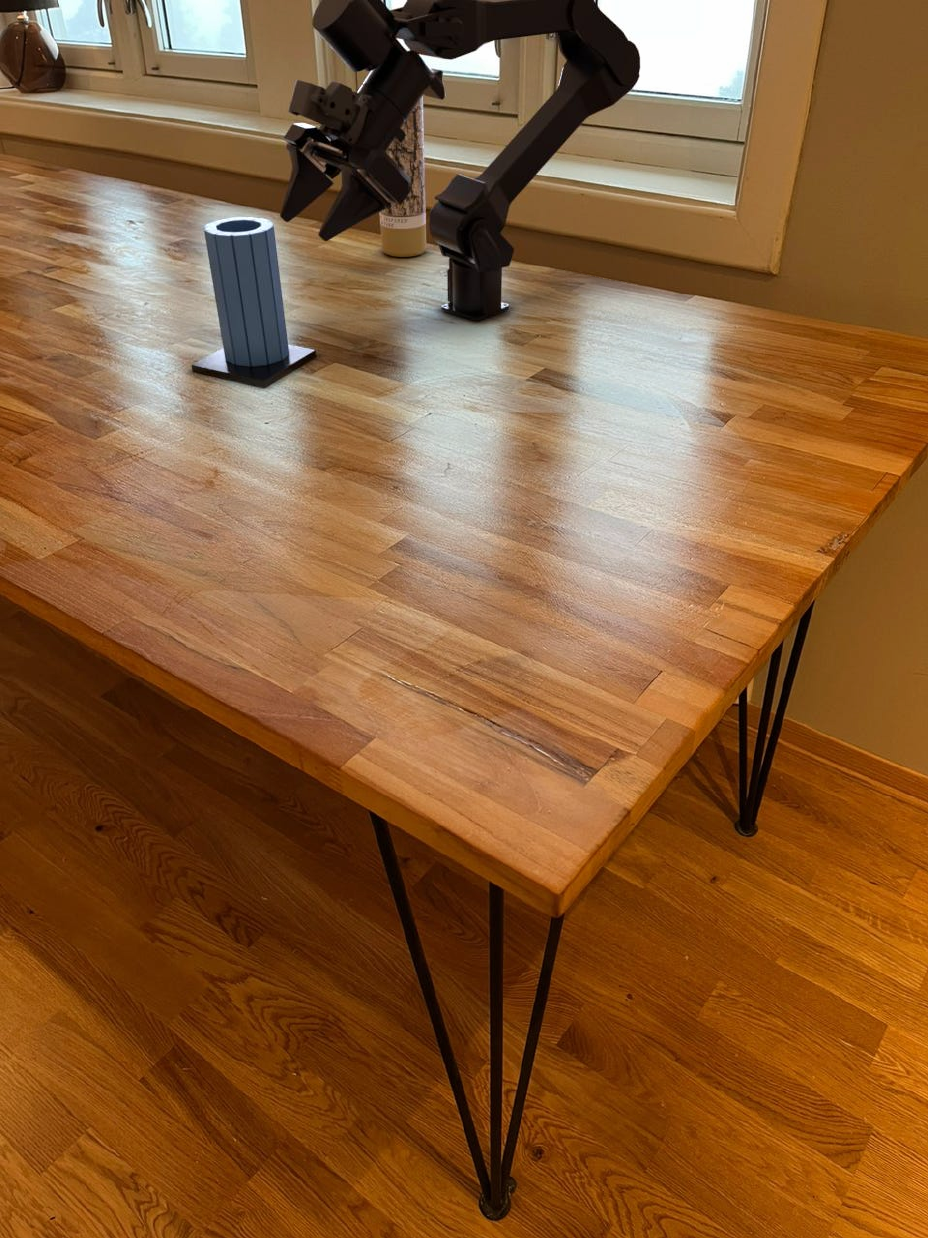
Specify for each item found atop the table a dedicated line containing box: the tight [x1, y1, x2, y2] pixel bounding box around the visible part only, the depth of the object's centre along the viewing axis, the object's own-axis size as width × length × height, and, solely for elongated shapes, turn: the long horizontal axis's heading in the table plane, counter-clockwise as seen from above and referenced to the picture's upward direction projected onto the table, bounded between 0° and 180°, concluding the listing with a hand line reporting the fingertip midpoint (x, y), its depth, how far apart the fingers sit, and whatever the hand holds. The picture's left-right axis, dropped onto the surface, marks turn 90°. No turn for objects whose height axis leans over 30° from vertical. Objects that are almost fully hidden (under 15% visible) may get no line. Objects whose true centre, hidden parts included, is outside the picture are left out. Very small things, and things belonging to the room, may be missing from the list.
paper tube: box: [379, 95, 427, 258], centre depth 133 cm, size 7×7×25 cm
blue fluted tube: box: [203, 216, 289, 367], centre depth 102 cm, size 7×7×14 cm
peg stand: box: [190, 343, 317, 389], centre depth 105 cm, size 10×10×5 cm
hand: (301, 228), depth 102 cm, fingers open, 9 cm apart
